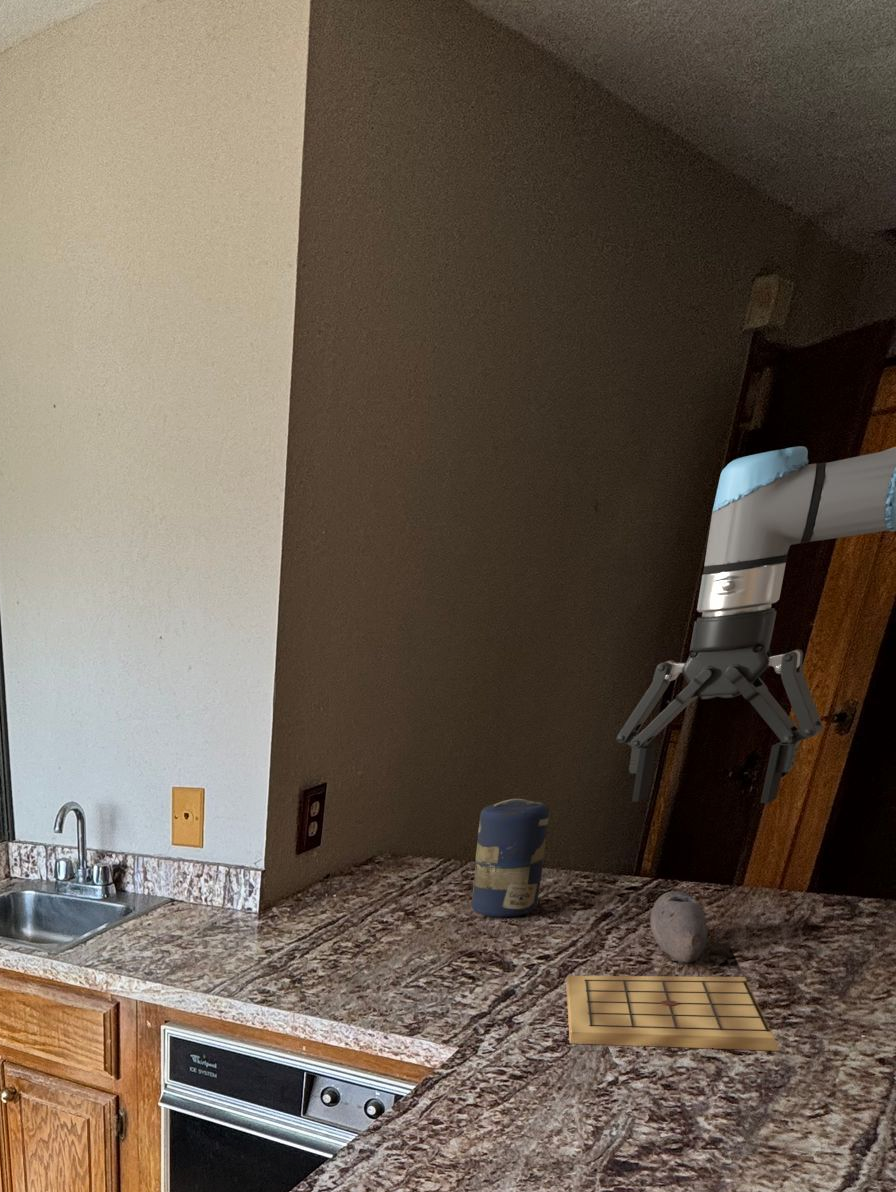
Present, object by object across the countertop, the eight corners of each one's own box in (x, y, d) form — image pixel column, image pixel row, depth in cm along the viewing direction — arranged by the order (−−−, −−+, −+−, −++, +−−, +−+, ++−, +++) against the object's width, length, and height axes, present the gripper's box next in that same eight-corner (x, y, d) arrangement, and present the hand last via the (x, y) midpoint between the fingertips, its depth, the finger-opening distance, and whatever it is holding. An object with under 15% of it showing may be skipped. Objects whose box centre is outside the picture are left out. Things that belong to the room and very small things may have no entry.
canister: (485, 902, 167) (495, 792, 159) (547, 906, 160) (561, 791, 153) (460, 918, 162) (470, 804, 154) (523, 922, 155) (537, 804, 147)
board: (759, 988, 120) (762, 976, 120) (791, 1051, 105) (795, 1037, 104) (566, 986, 130) (567, 974, 129) (569, 1043, 115) (571, 1030, 114)
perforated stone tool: (712, 970, 127) (722, 917, 124) (662, 971, 129) (671, 919, 126) (689, 936, 139) (698, 887, 136) (644, 938, 141) (652, 889, 138)
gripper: (602, 627, 122) (579, 804, 131) (865, 598, 103) (817, 808, 112) (629, 620, 126) (604, 793, 135) (888, 591, 107) (839, 795, 116)
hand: (701, 800), depth 124 cm, fingers open, 13 cm apart
